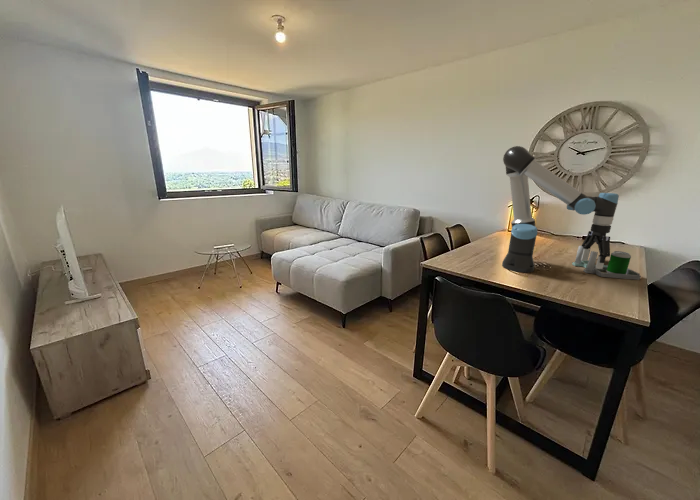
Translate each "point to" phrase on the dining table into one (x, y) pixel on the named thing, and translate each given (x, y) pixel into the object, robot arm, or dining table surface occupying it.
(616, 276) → the frame
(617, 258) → the soda can
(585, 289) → the dining table surface
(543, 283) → the dining table surface
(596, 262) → the walnut block
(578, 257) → the lane
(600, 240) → the robot arm
